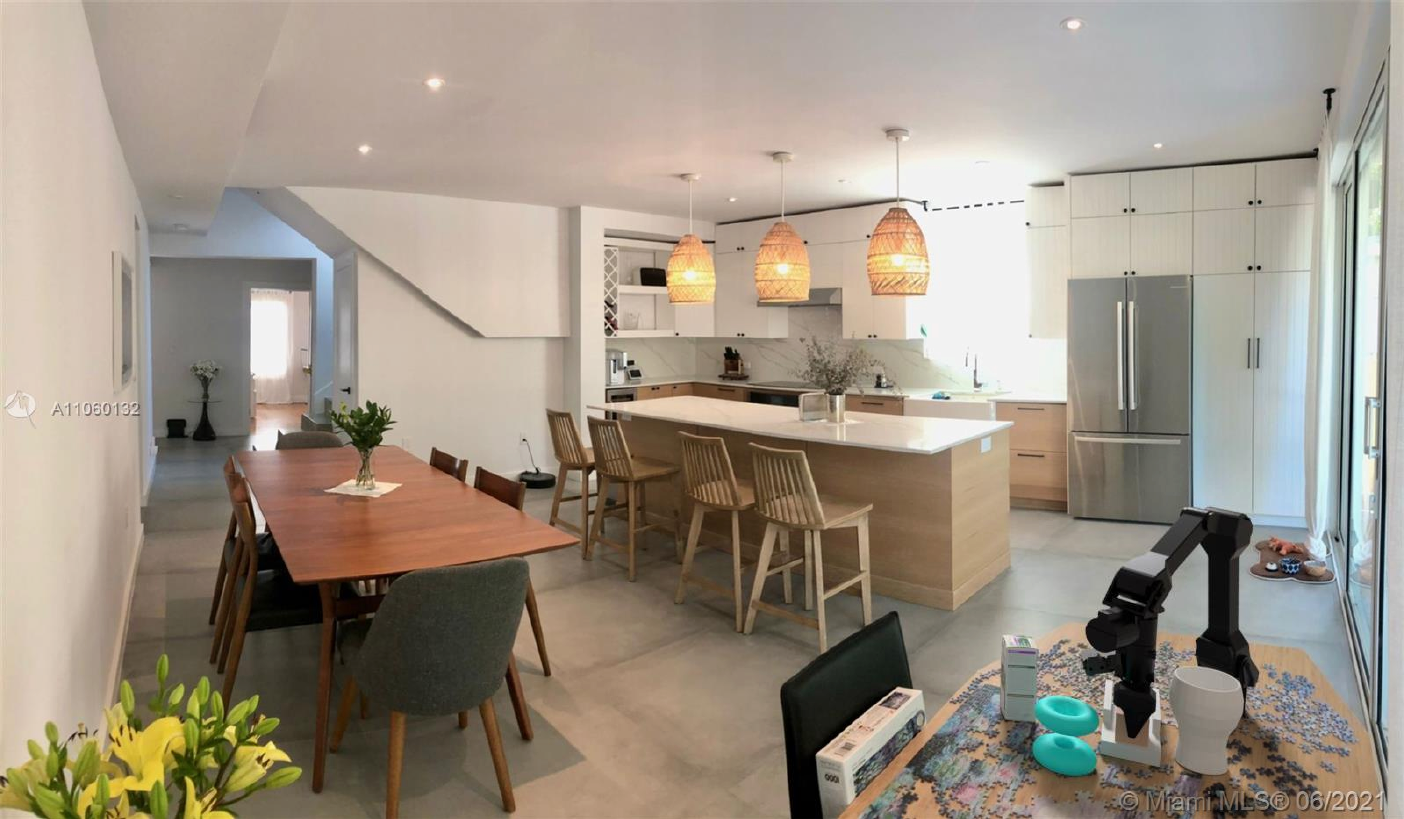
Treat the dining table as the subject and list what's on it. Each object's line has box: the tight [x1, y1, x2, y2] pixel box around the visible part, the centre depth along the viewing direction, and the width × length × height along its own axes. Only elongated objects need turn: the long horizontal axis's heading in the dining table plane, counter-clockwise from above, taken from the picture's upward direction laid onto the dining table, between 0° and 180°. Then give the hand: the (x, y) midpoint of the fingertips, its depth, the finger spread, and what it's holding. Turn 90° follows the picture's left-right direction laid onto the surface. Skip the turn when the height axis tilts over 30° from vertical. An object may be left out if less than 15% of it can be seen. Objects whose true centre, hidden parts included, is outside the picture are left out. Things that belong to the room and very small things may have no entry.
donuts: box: [1031, 695, 1100, 777], centre depth 137 cm, size 10×10×10 cm
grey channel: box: [1099, 678, 1162, 768], centre depth 147 cm, size 9×20×5 cm, turn 152°
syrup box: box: [999, 634, 1039, 723], centre depth 153 cm, size 6×6×14 cm
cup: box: [1168, 665, 1244, 776], centre depth 137 cm, size 11×11×15 cm
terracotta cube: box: [1115, 707, 1150, 748], centre depth 141 cm, size 5×5×5 cm
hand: (1131, 725), depth 141 cm, fingers open, 9 cm apart
